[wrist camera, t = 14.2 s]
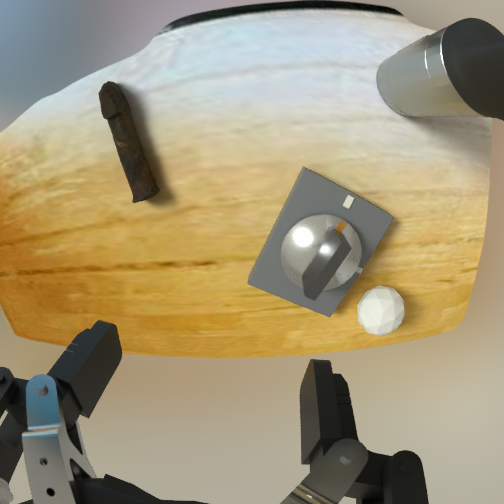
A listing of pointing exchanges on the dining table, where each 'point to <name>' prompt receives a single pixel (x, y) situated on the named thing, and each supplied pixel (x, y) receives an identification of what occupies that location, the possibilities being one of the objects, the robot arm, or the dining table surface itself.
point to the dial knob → (320, 253)
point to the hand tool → (127, 142)
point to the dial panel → (307, 203)
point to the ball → (381, 310)
